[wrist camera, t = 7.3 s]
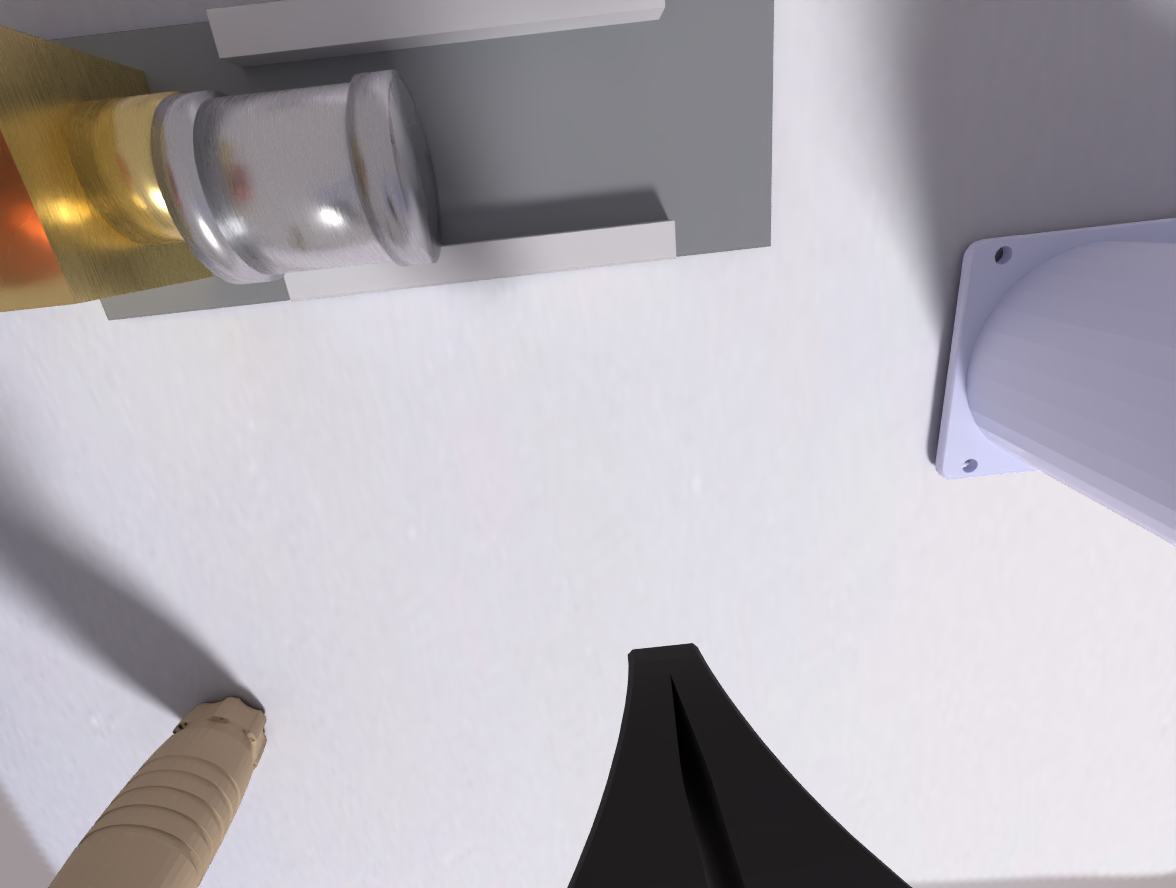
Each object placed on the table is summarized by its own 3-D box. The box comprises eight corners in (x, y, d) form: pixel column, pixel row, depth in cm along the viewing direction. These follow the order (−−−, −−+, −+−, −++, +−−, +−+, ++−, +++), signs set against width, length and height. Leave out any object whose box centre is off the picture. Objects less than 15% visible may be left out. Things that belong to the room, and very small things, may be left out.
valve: (219, 62, 15) (-26, -41, 9) (280, 269, 17) (114, 304, 11) (-30, 91, 15) (-451, 10, 9) (59, 294, 17) (-235, 344, 11)
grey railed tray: (769, -38, 15) (788, -62, 14) (766, 245, 18) (782, 248, 16) (8, 50, 15) (-44, 35, 14) (118, 318, 18) (82, 326, 17)
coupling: (407, 57, 15) (369, 86, 11) (448, 228, 17) (427, 291, 14) (210, 80, 15) (115, 115, 11) (282, 247, 17) (223, 314, 14)
